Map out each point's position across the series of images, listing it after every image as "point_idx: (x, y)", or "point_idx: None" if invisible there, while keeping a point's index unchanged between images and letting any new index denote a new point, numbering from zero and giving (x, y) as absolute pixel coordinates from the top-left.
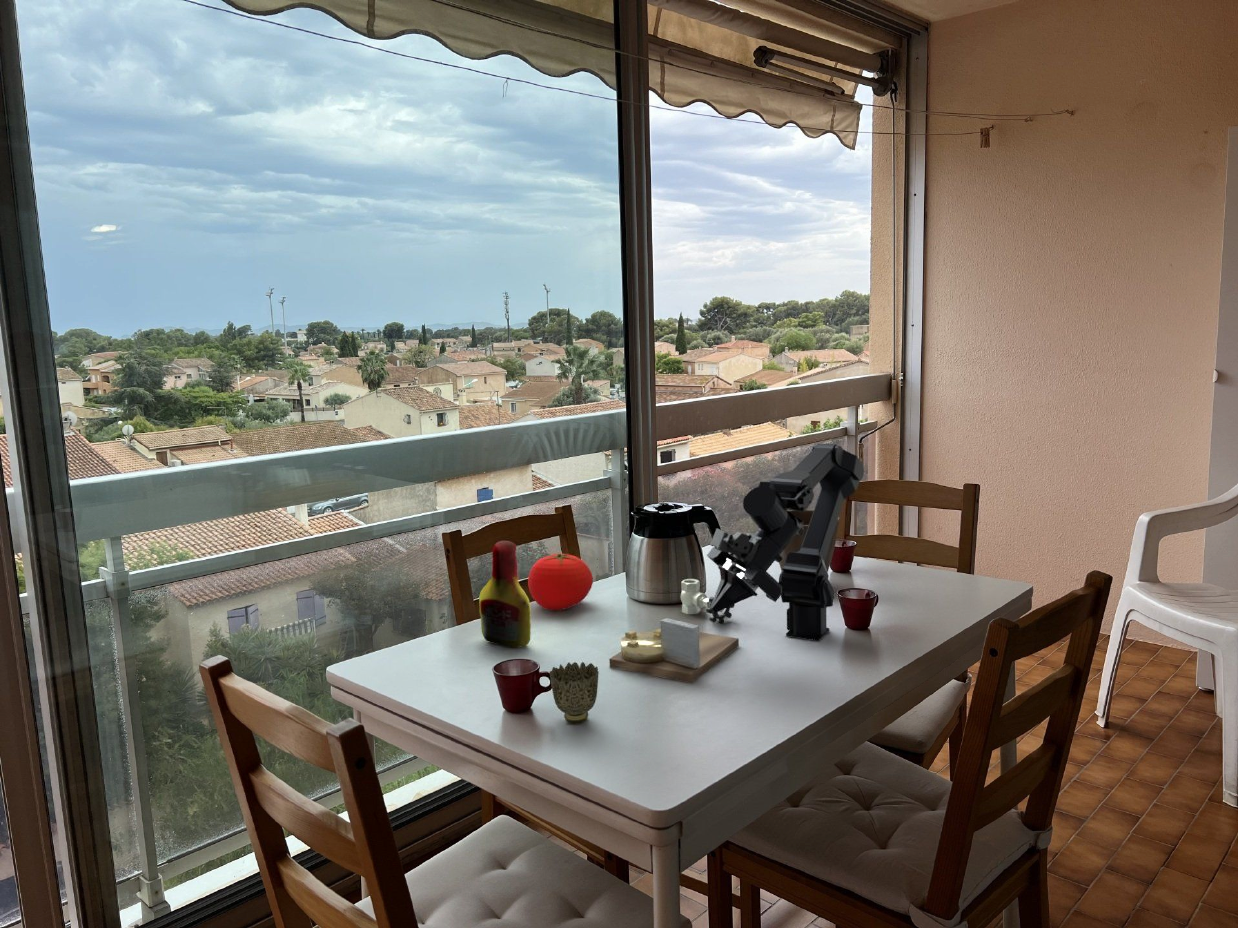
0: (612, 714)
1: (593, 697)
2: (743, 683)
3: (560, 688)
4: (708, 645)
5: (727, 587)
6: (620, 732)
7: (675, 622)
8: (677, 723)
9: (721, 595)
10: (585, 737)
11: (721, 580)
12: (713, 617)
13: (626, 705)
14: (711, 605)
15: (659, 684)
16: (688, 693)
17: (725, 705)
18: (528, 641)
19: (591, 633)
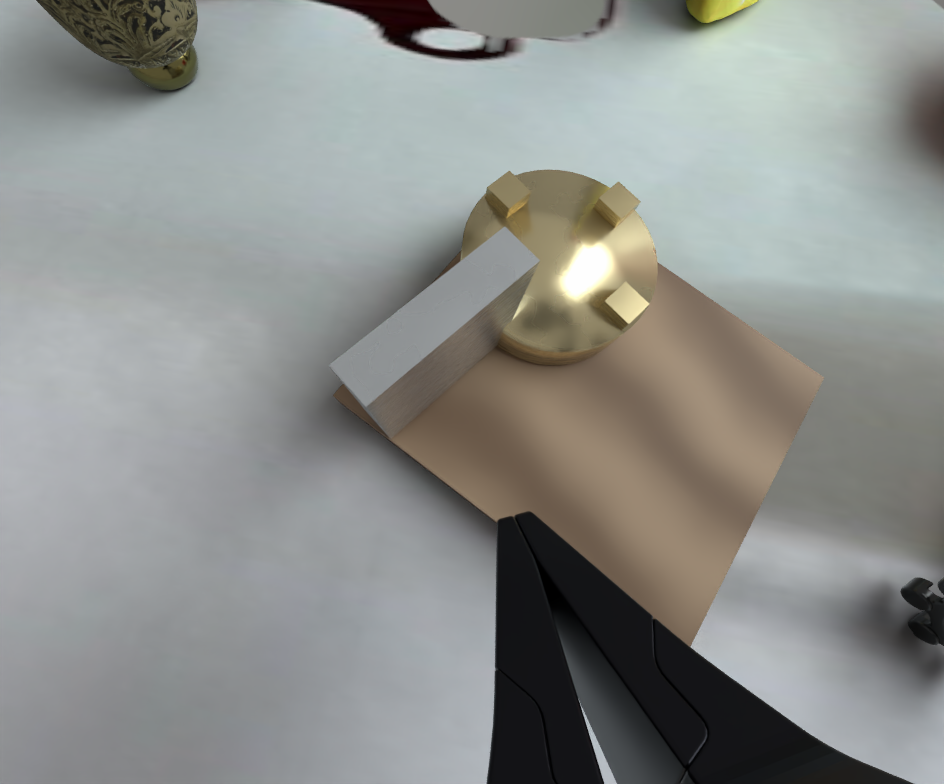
0: (174, 153)
1: (54, 18)
2: (284, 589)
3: None
4: (611, 515)
5: (518, 774)
6: (44, 154)
7: (455, 292)
8: (34, 305)
9: (508, 637)
10: (53, 77)
11: (766, 737)
12: (923, 596)
13: (224, 194)
14: (533, 523)
15: (354, 304)
16: (255, 378)
17: (110, 481)
18: (698, 9)
19: (797, 183)
